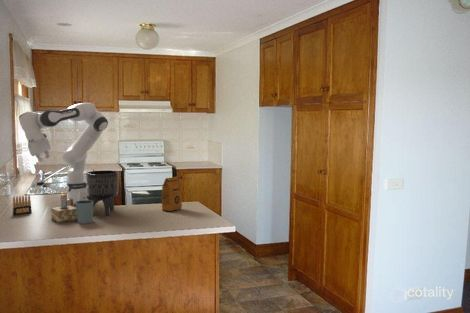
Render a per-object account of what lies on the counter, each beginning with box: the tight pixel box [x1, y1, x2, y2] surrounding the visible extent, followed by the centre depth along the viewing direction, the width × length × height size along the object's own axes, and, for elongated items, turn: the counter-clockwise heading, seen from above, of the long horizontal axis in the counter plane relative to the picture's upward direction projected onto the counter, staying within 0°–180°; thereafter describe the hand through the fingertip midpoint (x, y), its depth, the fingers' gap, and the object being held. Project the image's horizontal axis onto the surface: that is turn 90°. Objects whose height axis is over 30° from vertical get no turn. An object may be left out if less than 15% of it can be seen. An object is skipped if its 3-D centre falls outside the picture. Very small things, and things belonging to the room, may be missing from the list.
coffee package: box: [161, 176, 183, 212], centre depth 282 cm, size 10×12×22 cm
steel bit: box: [60, 194, 67, 209], centre depth 254 cm, size 4×4×14 cm
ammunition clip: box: [12, 194, 33, 216], centre depth 269 cm, size 11×2×12 cm, turn 130°
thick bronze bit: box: [67, 198, 75, 207], centre depth 267 cm, size 6×6×10 cm
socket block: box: [50, 206, 77, 224], centre depth 255 cm, size 11×11×7 cm
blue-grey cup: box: [74, 200, 94, 224], centre depth 250 cm, size 10×10×12 cm
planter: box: [85, 169, 120, 217], centre depth 271 cm, size 20×20×26 cm
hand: (44, 159), depth 258 cm, fingers open, 8 cm apart
